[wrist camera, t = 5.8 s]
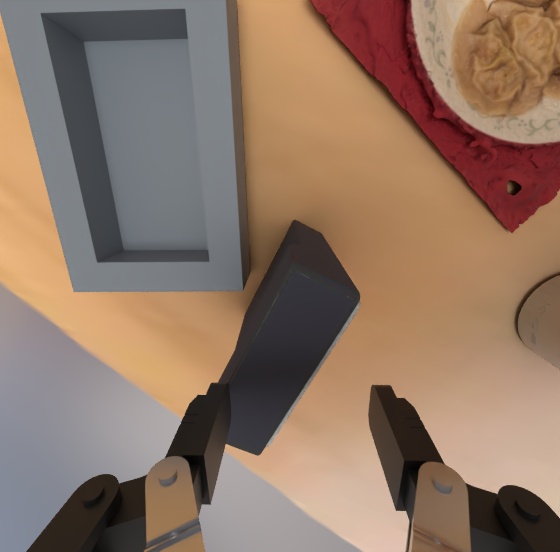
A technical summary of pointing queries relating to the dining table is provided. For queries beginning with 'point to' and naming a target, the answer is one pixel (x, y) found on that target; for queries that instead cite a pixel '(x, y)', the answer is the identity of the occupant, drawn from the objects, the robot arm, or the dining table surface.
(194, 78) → the tray
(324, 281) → the dark bevelled slab
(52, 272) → the dining table surface
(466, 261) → the dining table surface
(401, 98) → the plate with food
